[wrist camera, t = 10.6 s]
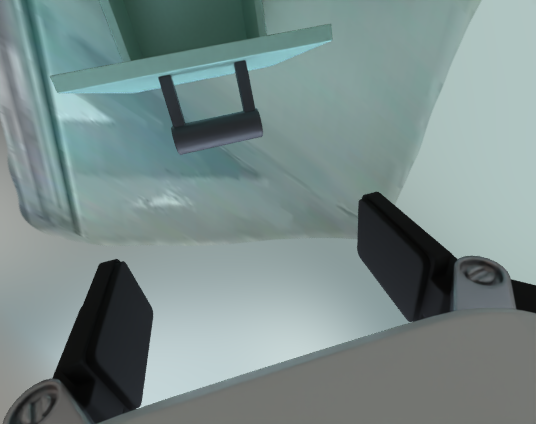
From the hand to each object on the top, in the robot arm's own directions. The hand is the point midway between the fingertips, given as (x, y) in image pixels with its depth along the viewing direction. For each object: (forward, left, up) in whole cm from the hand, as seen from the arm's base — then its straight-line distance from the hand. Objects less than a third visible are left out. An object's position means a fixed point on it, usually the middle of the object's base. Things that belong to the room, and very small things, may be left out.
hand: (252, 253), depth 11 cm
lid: (-6, 0, -17) cm, 18 cm away
